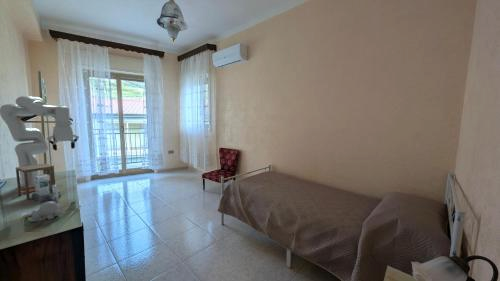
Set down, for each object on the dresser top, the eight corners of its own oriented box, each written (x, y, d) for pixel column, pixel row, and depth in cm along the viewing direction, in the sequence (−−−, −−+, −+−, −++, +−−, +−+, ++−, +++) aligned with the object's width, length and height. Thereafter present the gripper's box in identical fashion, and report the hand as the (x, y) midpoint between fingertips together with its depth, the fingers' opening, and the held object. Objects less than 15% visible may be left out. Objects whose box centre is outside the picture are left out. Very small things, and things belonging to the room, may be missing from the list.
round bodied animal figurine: (35, 223, 109) (25, 210, 106) (63, 209, 115) (54, 196, 113) (33, 229, 103) (21, 215, 101) (62, 214, 110) (52, 200, 107)
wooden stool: (18, 195, 138) (15, 167, 136) (46, 189, 151) (44, 163, 149) (27, 199, 132) (24, 170, 130) (56, 192, 144) (53, 165, 142)
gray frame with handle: (31, 198, 133) (30, 182, 132) (53, 193, 142) (51, 178, 141) (45, 204, 124) (44, 187, 123) (67, 198, 134) (66, 183, 132)
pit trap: (16, 191, 145) (16, 189, 145) (36, 187, 154) (36, 185, 154) (22, 194, 140) (22, 192, 140) (42, 189, 149) (42, 187, 149)
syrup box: (40, 200, 132) (37, 177, 130) (35, 198, 134) (33, 175, 133) (52, 196, 137) (49, 174, 135) (47, 195, 140) (45, 173, 138)
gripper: (75, 124, 155) (76, 147, 157) (43, 124, 140) (45, 150, 142) (80, 124, 151) (81, 148, 153) (48, 125, 136) (50, 151, 138)
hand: (64, 149), depth 148 cm, fingers open, 9 cm apart
